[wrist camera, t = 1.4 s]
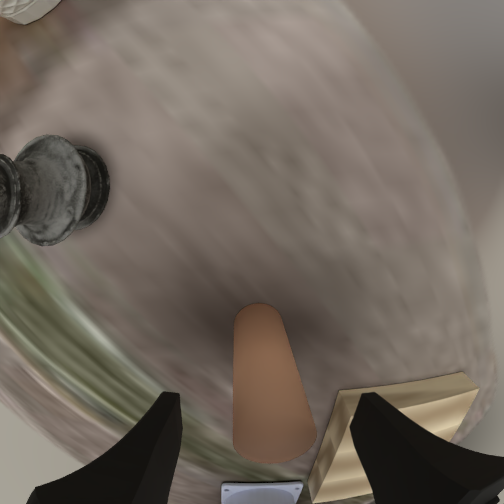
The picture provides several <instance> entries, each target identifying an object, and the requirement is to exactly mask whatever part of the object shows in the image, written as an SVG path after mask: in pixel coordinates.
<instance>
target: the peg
mask: <svg viewBox="0 0 504 504" xmlns="http://www.w3.org/2000/svg"><path fill="white" fill-rule="evenodd" d="M316 437H317V431H316V427H315V424H314V421H313V417H312V414H311V411H310V408H309V404H308V401H307V398H306V395H305V392H304V388H303V385H302V382H301V379H300V376H299V372H298V369H297V366H296V363H295V360H294V356H293V353H292V350H291V347H290V344H289V341H288V337H287V334H286V331H285V328H284V325H283V322H282V318H281V316H280V314H279V312H278V311H277V310H276V309H275V308H273V307H272V306H270V305H267V304H263V303H255V304H251V305H248V306H246V307H244V308H243V309H242V310H240V311H239V313H238V314H237V316H236V318H235V321H234V353H233V445H234V448H235V450H236V451H237V453H238V454H240V455H241V456H242V457H244V458H246V459H248V460H250V461H254V462H258V463H268V464H271V463H281V462H285V461H289V460H292V459H294V458H297V457H299V456H300V455H302V454H304V453H305V452H306V451H308V450H309V449H310V448H311V447H312V445H313V444H314V442H315V440H316Z"/></svg>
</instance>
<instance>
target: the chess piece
mask: <svg viewBox="0 0 504 504" xmlns="http://www.w3.org/2000/svg"><path fill="white" fill-rule="evenodd" d="M109 189H110V186H109V175H108V171H107V168H106V165H105V163H104V162H103V160H102V158H101V157H100V156H99V155H98V154H97V153H96V152H95V151H94V150H92V149H90V148H88V147H86V146H77V145H75V146H73V145H72V144H71V143H70V142H69V141H68V140H66V139H64V138H62V137H60V136H58V135H43V136H40V137H36V138H35V139H33V140H32V141H30V142H29V143H27V144H26V145H25V146H24V147H23V149H22V150H21V151H20V152H19V153H18V155H17V157H16V158H15V160H14V161H12V160H11V159H10V158H9V157H7V156H6V155H4V154H0V238H2V237H4V236H6V235H7V234H9V233H10V231H11V230H12V229H13V228H14V227H16V229H17V230H18V231H19V232H20V234H21V235H22V236H23V237H24V238H25V239H27V240H28V241H30V242H31V243H33V244H37V245H40V246H51V245H55V244H57V243H59V242H61V241H63V240H65V239H66V238H67V237H68V236H69V235H70V234H71V233H72V232H73V231H74V230H78V229H82V228H85V227H87V226H89V225H91V224H92V223H93V222H94V221H96V220H97V219H98V217H99V216H100V215H101V213H102V212H103V210H104V208H105V205H106V203H107V200H108V195H109Z"/></svg>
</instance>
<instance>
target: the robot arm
mask: <svg viewBox="0 0 504 504" xmlns="http://www.w3.org/2000/svg"><path fill="white" fill-rule="evenodd" d="M349 428H350V432H351V436H352V440H353V444H354V447H355V450H356V452H357V455H358V457H359V460H360V462H361V464H362V467H363V469H364V471H365V474H366V476H367V479H368V481H369V483H370V486H371V489H372V492H373V495H374V499H375V503H376V504H497V503H498V502H499V501H500V499H499V498H498V496H497V495H498V494H499V493H500V492H501V491H502V490H503V489H504V457H500V456H493V455H487V454H482V453H479V452H475V451H472V450H469V449H465V448H463V447H460V446H458V445H455V444H453V443H450V442H448V441H446V440H444V439H442V438H440V437H438V436H436V435H434V434H433V433H431V432H429V431H428V430H426V429H425V428H423V427H421V426H420V425H418V424H417V423H415V422H414V421H413V420H411V419H410V418H408V417H407V416H406V415H404V414H403V413H402V412H400V411H399V410H398V409H397V408H395V407H394V406H393V405H391V404H390V403H389V402H388V401H386V400H385V399H384V398H382V397H381V396H380V395H378V394H377V393H376V392H369V393H362V394H361V397H360V400H359V402H358V405H357V408H356V411H355V413H354V416H353V419H352V421H351V424H350V426H349ZM182 429H183V427H182V417H181V406H180V395H179V393H173V392H165V391H164V392H162V393H161V394H160V396H159V397H158V399H157V400H156V401H155V403H154V404H153V405H152V406H151V408H150V409H149V410H148V411H147V413H146V414H145V415H144V416H143V417H142V418H141V419H140V421H139V422H138V423H137V424H136V425H135V426H134V427H133V428H132V429H131V430H130V431H129V432H128V433H127V434H126V435H125V436H124V437H123V438H122V439H121V440H120V441H119V442H118V443H116V444H115V445H114V446H113V447H112V448H110V449H109V450H108V451H107V452H105V453H104V454H103V455H101V456H100V457H98V458H97V459H95V460H94V461H92V462H91V463H89V464H88V465H86V466H84V467H82V468H81V469H79V470H77V471H75V472H73V473H71V474H69V475H67V476H65V477H63V478H60V479H58V480H55V481H52V482H50V483H47V484H44V485H41V486H38V487H35V489H34V491H33V492H32V493H31V495H30V497H29V499H28V501H27V503H26V504H167V502H168V496H169V491H170V487H171V483H172V479H173V475H174V472H175V468H176V464H177V460H178V456H179V452H180V446H181V438H182ZM302 488H303V482H300V481H298V482H284V483H223V484H222V489H221V504H296V502H297V500H298V497H299V495H300V493H301V490H302Z"/></svg>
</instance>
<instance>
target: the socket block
mask: <svg viewBox="0 0 504 504" xmlns="http://www.w3.org/2000/svg"><path fill="white" fill-rule="evenodd" d="M478 390H479V387H478V386H476V385H475V384H474V383H473V382H472V381H471V380H470V379H469V378H468V377H467V376H466V375H465V374H464V373H463V372H458V373H454V374H449V375H445V376H440V377H435V378H430V379H425V380H419V381H413V382H407V383H400V384H394V385H386V386H378V387H370V388H360V389H350V390H339V392H338V396H337V399H336V402H335V406H334V409H333V412H332V415H331V418H330V421H329V424H328V427H327V430H326V433H325V436H324V439H323V442H322V444H321V447H320V450H319V453H318V455H317V458H316V461H315V463H314V466H313V468H312V471H311V473H310V476H309V478H308V481H307V482H308V486H309V491H310V495H311V500H312V503H320V502H327V501H333V500H339V499H345V498H350V497H355V496H360V495H365V494H369V493H373V492H372V489H371V486H370V483H369V481H368V479H367V476H366V474H365V471H364V469H363V467H362V464H361V462H360V460H359V457H358V455H357V452H356V450H355V447H354V444H353V440H352V436H351V432H350V428H349V426H350V424H351V421H352V419H353V416H354V413H355V411H356V408H357V405H358V402H359V400H360V397H361V394H362V393H369V392H376V393H377V394H378V395H380V396H381V397H382V398H384V399H385V400H386V401H388V402H389V403H390V404H391V405H393V406H394V407H395V408H397V409H398V410H399V411H400V412H402V413H403V414H404V415H406V416H407V417H408V418H410V419H411V420H413V421H414V422H415V423H417V424H418V425H420V426H421V427H423V428H425V429H426V430H428V431H429V432H431V433H433V434H434V435H436V436H438V437H440V438H442V439H444V440H446V441H448V442H450V440H451V438H452V437H453V435H454V434H455V432H456V430H457V429H458V427H459V425H460V424H461V422H462V420H463V418H464V417H465V415H466V413H467V411H468V410H469V408H470V406H471V404H472V402H473V400H474V398H475V396H476V394H477V392H478Z"/></svg>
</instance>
